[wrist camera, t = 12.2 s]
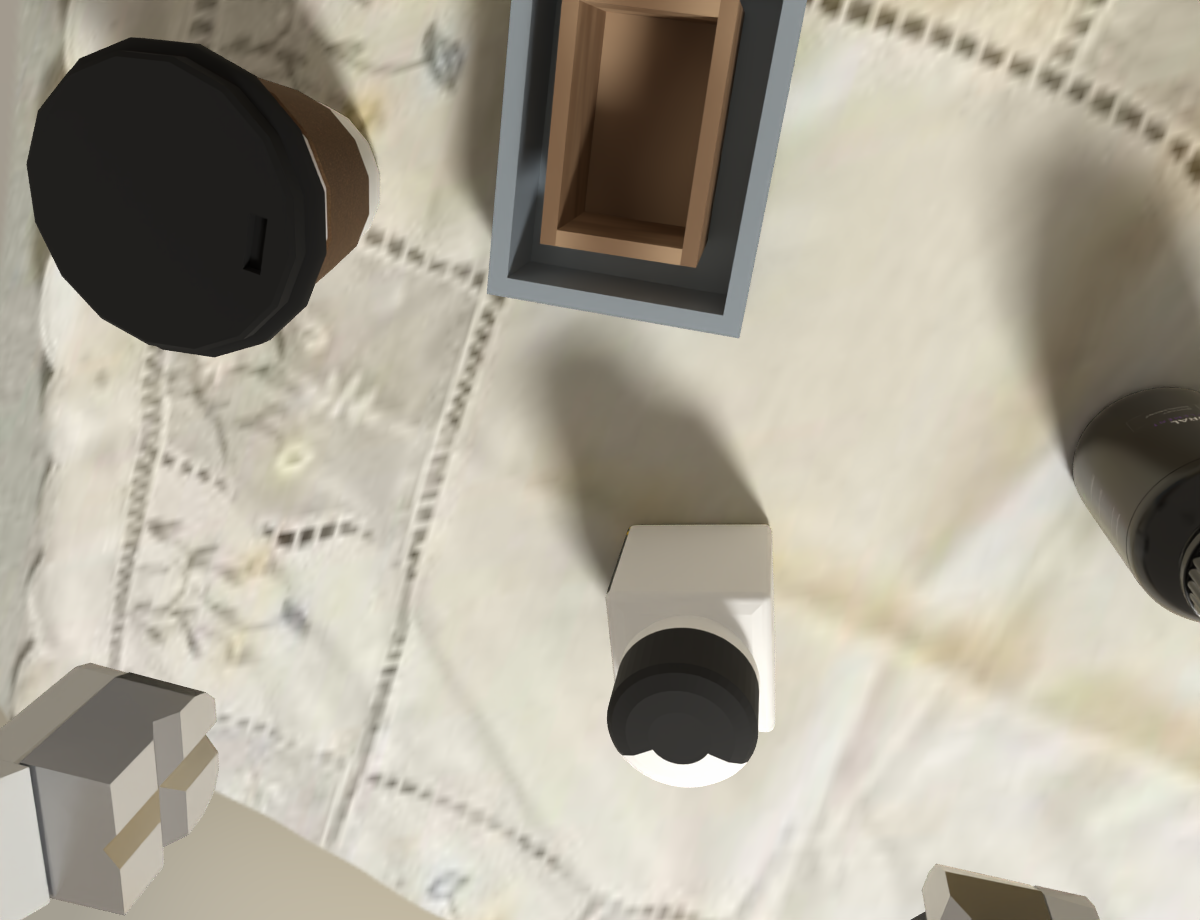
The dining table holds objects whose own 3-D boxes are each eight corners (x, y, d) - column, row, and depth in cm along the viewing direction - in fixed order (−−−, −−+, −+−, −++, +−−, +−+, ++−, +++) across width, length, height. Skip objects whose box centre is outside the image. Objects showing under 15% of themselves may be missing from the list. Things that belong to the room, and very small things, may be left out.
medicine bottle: (627, 522, 46) (581, 659, 35) (772, 521, 44) (770, 663, 34) (639, 643, 48) (599, 805, 38) (775, 645, 47) (774, 815, 36)
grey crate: (811, -27, 35) (815, -42, 31) (742, 312, 41) (739, 338, 37) (547, -62, 37) (517, -80, 32) (515, 273, 42) (486, 293, 38)
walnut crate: (745, 12, 36) (739, -1, 30) (707, 242, 39) (696, 267, 34) (596, -6, 36) (564, -22, 31) (572, 221, 40) (539, 243, 35)
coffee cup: (454, 92, 39) (331, 95, 29) (405, 325, 44) (283, 405, 33) (222, 15, 40) (13, -11, 29) (197, 253, 44) (9, 309, 34)
